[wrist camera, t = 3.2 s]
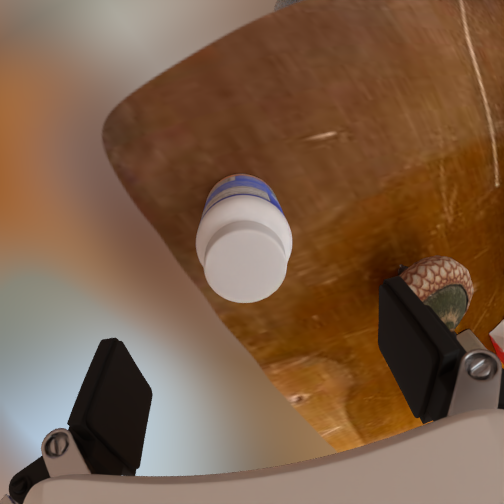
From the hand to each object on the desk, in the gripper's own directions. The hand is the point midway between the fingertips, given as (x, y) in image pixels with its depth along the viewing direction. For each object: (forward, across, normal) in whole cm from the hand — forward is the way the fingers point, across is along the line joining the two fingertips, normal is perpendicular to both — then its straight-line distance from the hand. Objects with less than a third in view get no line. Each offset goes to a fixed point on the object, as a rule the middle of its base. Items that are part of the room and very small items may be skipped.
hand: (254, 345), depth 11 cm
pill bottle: (+15, 0, 0) cm, 15 cm away
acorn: (+15, -13, +9) cm, 22 cm away
